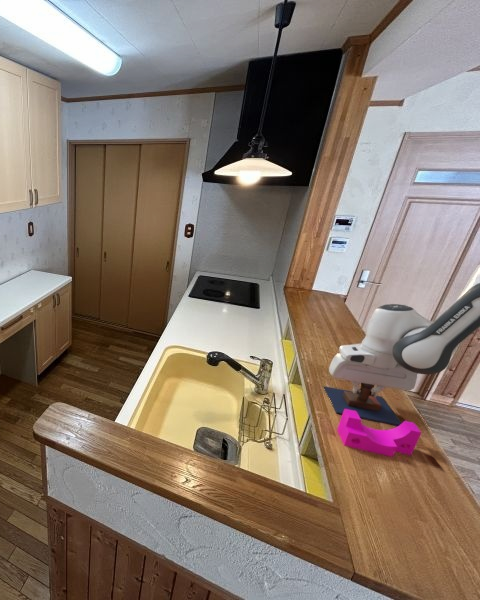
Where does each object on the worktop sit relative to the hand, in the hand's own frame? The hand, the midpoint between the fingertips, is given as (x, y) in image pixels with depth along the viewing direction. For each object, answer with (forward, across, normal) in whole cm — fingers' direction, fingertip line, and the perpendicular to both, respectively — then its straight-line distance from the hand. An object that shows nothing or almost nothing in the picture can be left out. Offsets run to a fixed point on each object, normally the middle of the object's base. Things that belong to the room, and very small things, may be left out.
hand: (363, 394), depth 101 cm
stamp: (+4, 0, 0) cm, 4 cm away
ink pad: (+4, 0, 0) cm, 4 cm away
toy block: (+5, +3, +18) cm, 19 cm away
